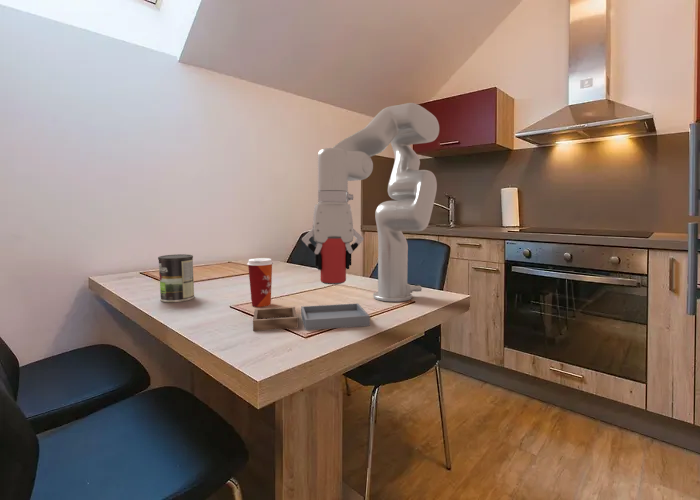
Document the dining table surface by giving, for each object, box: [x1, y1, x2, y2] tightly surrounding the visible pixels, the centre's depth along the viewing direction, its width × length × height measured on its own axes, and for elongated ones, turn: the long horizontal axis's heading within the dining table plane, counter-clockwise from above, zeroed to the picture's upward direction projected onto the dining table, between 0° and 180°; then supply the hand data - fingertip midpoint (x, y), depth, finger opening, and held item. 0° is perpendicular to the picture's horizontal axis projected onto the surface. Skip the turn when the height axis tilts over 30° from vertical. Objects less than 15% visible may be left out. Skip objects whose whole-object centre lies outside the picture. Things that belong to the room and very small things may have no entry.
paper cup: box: [246, 257, 274, 308], centre depth 114 cm, size 8×8×14 cm
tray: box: [300, 303, 371, 331], centre depth 98 cm, size 16×13×2 cm
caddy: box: [252, 306, 299, 332], centre depth 96 cm, size 11×11×2 cm
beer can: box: [320, 237, 347, 285], centre depth 96 cm, size 7×7×12 cm
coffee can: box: [157, 253, 195, 303], centre depth 122 cm, size 10×10×14 cm
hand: (333, 268), depth 97 cm, fingers closed on beer can, 6 cm apart
